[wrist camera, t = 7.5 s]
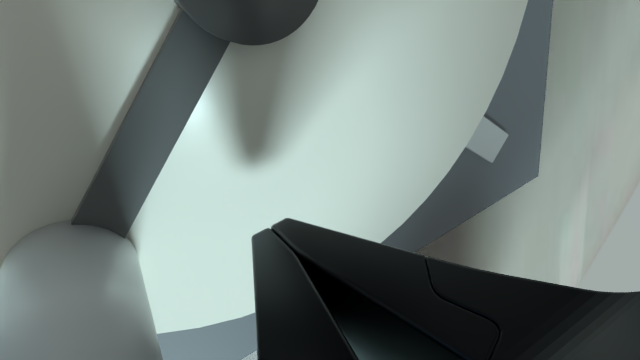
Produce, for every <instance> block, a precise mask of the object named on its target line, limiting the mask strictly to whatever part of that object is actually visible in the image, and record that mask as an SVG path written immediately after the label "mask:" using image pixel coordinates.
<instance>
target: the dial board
mask: <svg viewBox="0 0 640 360" xmlns="http://www.w3.org/2000/svg"><path fill="white" fill-rule="evenodd" d="M552 6H553V0H528V3H527V6H526V9H525V13H524V16H523V20H522V23H521V26H520V30H519V33H518V37H517V39H516V42H515V45H514V47H513V50H512V53H511V55H510V58H509V61H508V63H507V66H506V69H505V71H504V74H503V76H502V79H501V81H500V83H499V85H498V87H497V89H496V91H495V94H494V96H493V98H492V100H491V102H490V104H489V106H488V108H487V111H486V112H485V114H484V116H483V118H482V119H481V121H480V123H479V125H478V126H477V128H476V130H475V132H474V133H473V135H472V137H471V139H470V141H469V142H468V144H467V145H466V147H465V148H464V150H463V151H462V153H461V154H460V156H459V157H458V159H457V160H456V161H455V163H454V164H453V166H452V167H451V169H450V170H449V172H448V173H447V174H446V176H445V177H444V178H443V179H442V180H441V182H440V183H439V184H438V185H437V187H436V188H435V189H434V190H433V192H432V193H431V194H430V195H429V197H428V198H427V199H426V200H425V201H424V202H423V203H422V204H421V205H420V206H419V207H418V208H417V209H416V211H415V212H414V213H413V214H412V215H411V216H410V217H409V218H408V219H407V220H406V221H405V222H404V223H403V224H402V225H401V226H400V227H399V228H397V229H396V230H395V231H394V232H393V233H392V234H391V235H389V236H388V237H387V238H386V239H385V240H384V241H383V242H381V244H385V245H388V246H392V247H396V248H399V249H403V250H406V251H410V252H416V251H418V250H419V249H421V248H422V247H424V246H426V245H427V244H429V243H430V242H432V241H434V240H435V239H437V238H439V237H440V236H442V235H443V234H445V233H447V232H448V231H450V230H452V229H453V228H455V227H456V226H458V225H460V224H461V223H463V222H464V221H466V220H468V219H469V218H471V217H473V216H474V215H476V214H477V213H479V212H481V211H482V210H484V209H486V208H487V207H489V206H490V205H492V204H494V203H495V202H497V201H498V200H500V199H502V198H503V197H505V196H507V195H508V194H510V193H511V192H513V191H515V190H516V189H518V188H519V187H521V186H523V185H524V184H526V183H528V182H529V181H531V180H532V179H534V178H536V177H537V176H538V173H539V161H540V149H541V137H542V125H543V113H544V101H545V89H546V77H547V66H548V54H549V42H550V30H551V18H552ZM157 337H158V341H159V345H160V349H161V353H162V357H163V360H241V359H243V358H244V357H246V356H248V355H249V354H251V353H252V352H254V351H256V350H257V337H256V318H255V313H252V314H249V315H247V316H244V317H241V318H237V319H233V320H229V321H225V322H221V323H216V324H212V325H208V326H204V327H200V328H194V329H187V330H181V331H174V332H167V333H160V334H157Z"/></svg>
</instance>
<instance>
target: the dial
mask: <svg viewBox="0 0 640 360" xmlns="http://www.w3.org/2000/svg"><path fill="white" fill-rule="evenodd" d="M527 3H528V0H0V360H163V357H162V353H161V349H160V345H159V341H158V337H157V334H160V333H167V332H174V331H181V330H187V329H194V328H200V327H204V326H208V325H212V324H216V323H221V322H225V321H229V320H233V319H237V318H241V317H244V316H247V315H249V314H252V313H255V299H254V279H253V260H252V241H251V238H252V236H253V235H254V234H256V233H258V232H260V231H262V230H264V229H266V228H270V229H271V226H272V225H273V224H275V223H277V222H279V221H281V220H283V219H285V218H291V219H295V220H298V221H302V222H306V223H309V224H313V225H316V226H320V227H324V228H327V229H331V230H334V231H338V232H342V233H345V234H349V235H352V236H356V237H360V238H363V239H367V240H370V241H374V242H378V243H381V242H383V241H384V240H385V239H386V238H387V237H388V236H389V235H391V234H392V233H393V232H394V231H395V230H396V229H397V228H399V227H400V226H401V225H402V224H403V223H404V222H405V221H406V220H407V219H408V218H409V217H410V216H411V215H412V214H413V213H414V212H415V211H416V209H417V208H418V207H419V206H420V205H421V204H422V203H423V202H424V201H425V200H426V199H427V198H428V197H429V195H430V194H431V193H432V192H433V190H434V189H435V188H436V187H437V185H438V184H439V183H440V182H441V180H442V179H443V178H444V177H445V176H446V174H447V173H448V172H449V170H450V169H451V167H452V166H453V164H454V163H455V161H456V160H457V159H458V157H459V156H460V154H461V153H462V151H463V150H464V148H465V147H466V145H467V144H468V142H469V141H470V139H471V137H472V135H473V133H474V132H475V130H476V128H477V126H478V125H479V123H480V121H481V119H482V118H483V116H484V114H485V112H486V111H487V108H488V106H489V104H490V102H491V100H492V98H493V96H494V94H495V91H496V89H497V87H498V85H499V83H500V81H501V79H502V76H503V74H504V71H505V69H506V66H507V63H508V61H509V58H510V55H511V53H512V50H513V47H514V45H515V42H516V39H517V37H518V33H519V30H520V26H521V23H522V20H523V16H524V13H525V9H526V6H527Z"/></svg>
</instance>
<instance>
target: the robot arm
mask: <svg viewBox="0 0 640 360" xmlns="http://www.w3.org/2000/svg"><path fill="white" fill-rule="evenodd" d="M251 241H252V260H253V279H254V299H255V318H256V337H257V357H258V360H640V292H628V293H627V292H626V293H624V292H623V293H622V292H619V293H618V292H615V293H614V292H600V291H593V290H585V289H580V288H575V287H569V286H564V285H558V284H553V283H547V282H542V281H537V280H531V279H526V278H520V277H515V276H509V275H504V274H499V273H494V272H489V271H484V270H480V269H475V268H471V267H467V266H463V265H459V264H455V263H451V262H447V261H443V260H439V259H436V258H432V257H426V259H425V256H424V255H421V254H417V253H414V252H410V251H406V250H403V249H399V248H396V247H392V246H388V245H385V244H381V243H378V242H374V241H370V240H367V239H363V238H360V237H356V236H352V235H349V234H345V233H342V232H338V231H334V230H331V229H327V228H324V227H320V226H316V225H313V224H309V223H306V222H302V221H298V220H295V219H291V218H285V219H283V220H281V221H279V222H277V223H275V224H273V225H272V226H271V229H270V228H266V229H264V230H262V231H260V232H258V233H256V234H254V235H253V236H252V238H251Z"/></svg>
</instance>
